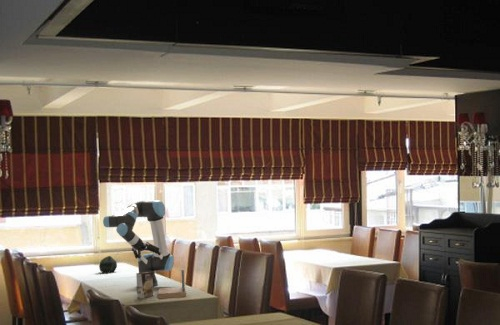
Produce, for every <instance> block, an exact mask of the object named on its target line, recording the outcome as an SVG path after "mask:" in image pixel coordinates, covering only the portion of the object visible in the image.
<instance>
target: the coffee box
mask: <svg viewBox="0 0 500 325" xmlns="http://www.w3.org/2000/svg"><path fill="white" fill-rule="evenodd" d="M135 276H136V293H137V294H136V296H137V298H141V299H144V298H149V297H154V286H153V277H152V272H142V273H139V272H138V273H137V272H136V275H135Z"/></svg>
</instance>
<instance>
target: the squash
mask: <svg viewBox="0 0 500 325" xmlns="http://www.w3.org/2000/svg"><path fill="white" fill-rule="evenodd" d="M117 264H118V263H117V261H116V260H115V259H114V257H112V256H111V255H109V256H108V255H107V256H105V257H104V258H102V259H101V260H100V262H99V265H98V266H99V271H100V272H101V273H109V274H110V273H111V274H112V273H115V271H116V270H117V268H118V265H117Z"/></svg>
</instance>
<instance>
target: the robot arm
mask: <svg viewBox="0 0 500 325" xmlns="http://www.w3.org/2000/svg"><path fill="white" fill-rule="evenodd" d="M165 215H166V206H165V204H164V202H163V201H161V200H156V199H155V200H141V201H140V200H139V201H136V202H134V203H131V204H130V205H128V206H127V207H126V208H125V209H123V210H121V211H119V212H117V213H115V214H113V215H106V216H104V217H103V220H102V221H103V222H102V223H103V226H104V227H105V228H109V229H110V228H116V233H117V234H118V235H119V236H120V237H121V238H122V239H124V240H125V242H126V243H127V244H129V245H130V247H132V248H131V251H132V252H133V255H134V258H135V259H137V260H138V261H137V263H138V273H142V272H152V277H153V287H155V286H158V285H159V283H158V279H157V276H156V274H155V272H168V271H169V272H170V271H171V270H173V268H174V265H175V256H174V255H173V254H171V252H170V250H168V248H167V242H166V236H165V231H164V225H163V224H164V223H163V219H164V216H165ZM137 218H147V220H146V221H147V222H149V224H150V229H151V234H152V241H153V244H151V243H149V241H146V242H144V241H143V240H142V239H141V238H140V237H139V235H137V234H136V233H135V232H134V231H133V229H134V227H135V224H136V222H137ZM143 251H149V252H151V253H144V254H142V253H141V252H143Z"/></svg>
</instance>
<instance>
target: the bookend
mask: <svg viewBox="0 0 500 325" xmlns="http://www.w3.org/2000/svg"><path fill="white" fill-rule="evenodd" d="M180 275H181V287H182V291H185V288H186V285H185V270H184V267H183V266H181V267H180Z"/></svg>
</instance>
